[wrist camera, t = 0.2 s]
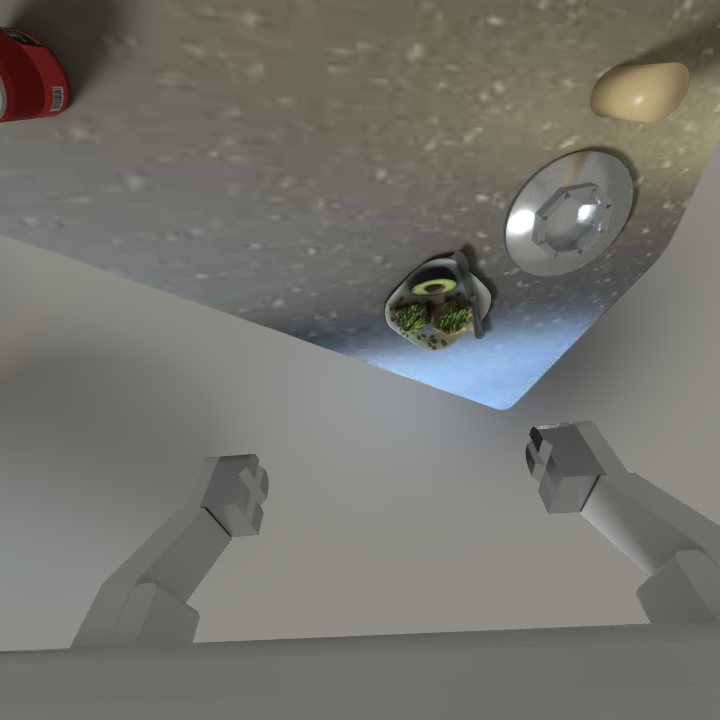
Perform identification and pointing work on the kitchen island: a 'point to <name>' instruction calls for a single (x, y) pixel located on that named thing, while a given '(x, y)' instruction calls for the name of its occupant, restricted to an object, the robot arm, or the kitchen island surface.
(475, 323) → the salad plate
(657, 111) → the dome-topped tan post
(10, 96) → the canned food
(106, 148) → the kitchen island surface
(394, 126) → the kitchen island surface
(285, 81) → the kitchen island surface
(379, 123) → the kitchen island surface
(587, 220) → the collar
